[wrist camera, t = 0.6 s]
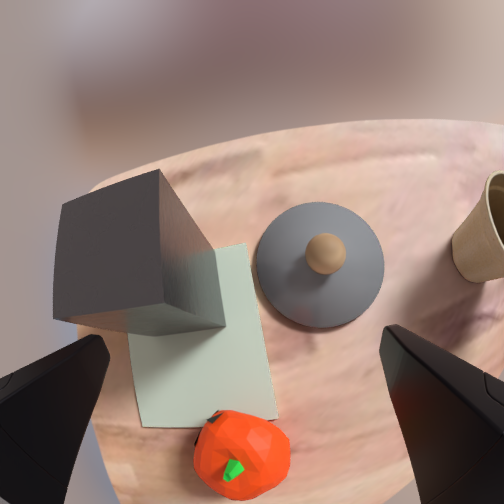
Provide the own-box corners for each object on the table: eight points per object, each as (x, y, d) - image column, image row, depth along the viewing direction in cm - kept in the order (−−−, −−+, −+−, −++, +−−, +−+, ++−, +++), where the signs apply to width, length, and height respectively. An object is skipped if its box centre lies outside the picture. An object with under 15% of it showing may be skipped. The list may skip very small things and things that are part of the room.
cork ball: (345, 274, 21) (355, 262, 18) (308, 282, 21) (312, 272, 18) (335, 239, 22) (342, 222, 19) (299, 246, 23) (302, 230, 20)
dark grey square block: (226, 326, 21) (164, 302, 10) (153, 336, 21) (53, 318, 10) (215, 251, 23) (159, 168, 12) (148, 266, 24) (62, 204, 12)
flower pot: (488, 315, 18) (546, 297, 10) (427, 272, 21) (481, 236, 13) (502, 241, 21) (547, 209, 12) (447, 199, 23) (486, 151, 15)
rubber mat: (278, 417, 19) (278, 418, 18) (144, 425, 19) (142, 426, 19) (246, 244, 24) (245, 242, 23) (125, 270, 24) (123, 268, 24)
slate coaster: (396, 308, 20) (398, 307, 20) (270, 340, 21) (270, 340, 20) (359, 196, 24) (361, 193, 24) (247, 218, 25) (246, 215, 24)
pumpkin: (206, 471, 18) (173, 505, 12) (210, 396, 20) (172, 418, 14) (286, 485, 16) (275, 529, 10) (299, 408, 18) (292, 440, 12)
